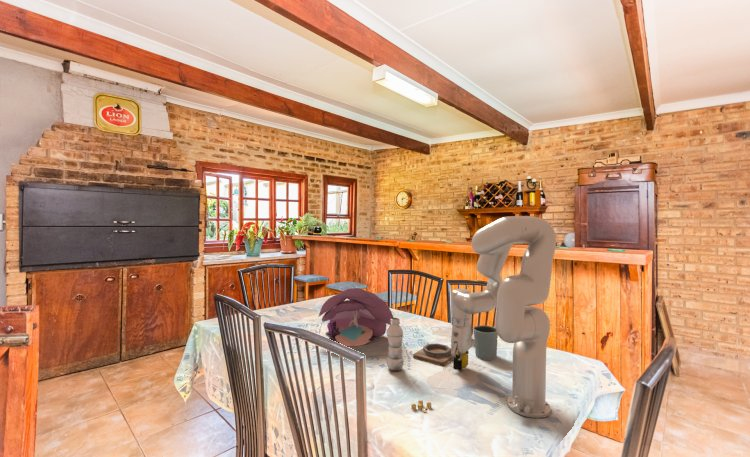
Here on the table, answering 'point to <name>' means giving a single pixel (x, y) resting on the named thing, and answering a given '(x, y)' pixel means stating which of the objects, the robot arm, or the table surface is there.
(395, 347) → the plastic bottle
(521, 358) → the robot arm
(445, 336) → the table surface
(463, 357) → the lemon
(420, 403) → the dice set
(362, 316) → the purple shell playhouse
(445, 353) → the holder
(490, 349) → the grey cup
